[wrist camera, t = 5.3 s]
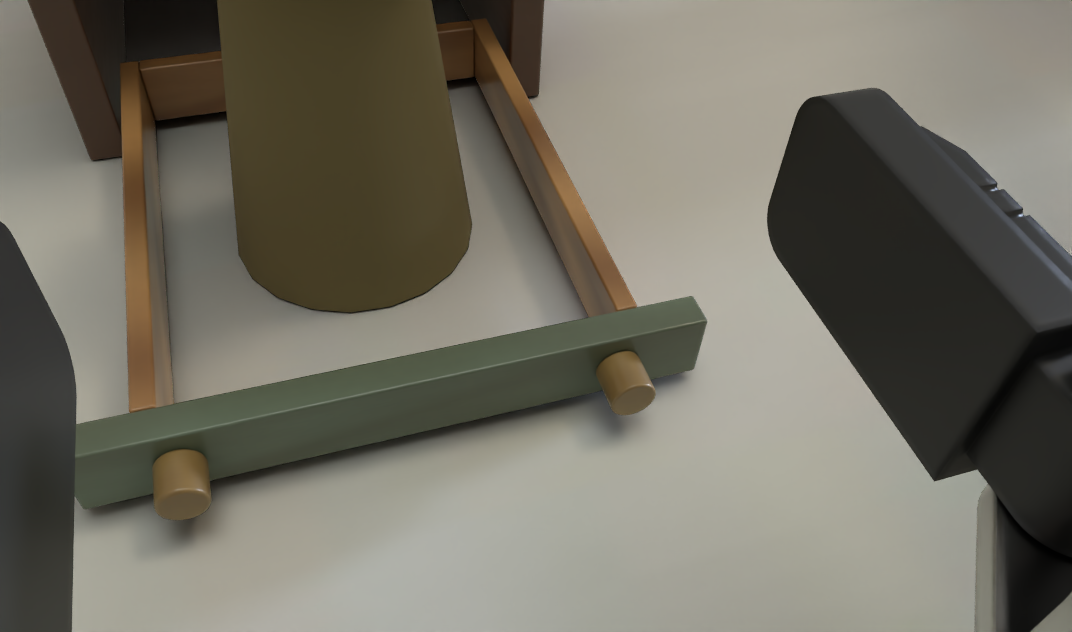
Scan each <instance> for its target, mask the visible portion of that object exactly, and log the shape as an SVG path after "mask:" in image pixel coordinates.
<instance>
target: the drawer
mask: <svg viewBox="0 0 1072 632" xmlns="http://www.w3.org/2000/svg"><path fill="white" fill-rule="evenodd" d="M436 28H437V33H438V39H439V44H440V50H441V55H442V61H443V66H444V72H445V78H446V81H448V80H456V79H463V78H470V77H474V75H475V77H476V79H477V81H478V84H479V86H480V88H481V90H482V92H483V94H484V96H485V98H486V101H487V103H488V105H489V107H490V109H491V111H492V113H493V115H494V117H495V120H496V122H497V124H498V126H499V128H500V130H501V132H502V134H503V136H504V139H505V141H506V143H507V145H508V147H509V149H510V151H511V153H512V155H513V158H514V160H515V162H516V164H517V166H518V168H519V170H520V172H521V175H522V177H523V179H524V181H525V183H526V185H527V187H528V189H529V191H530V194H531V196H532V198H533V200H534V202H535V204H536V206H537V208H538V210H539V213H540V215H541V217H542V219H543V221H544V223H545V225H546V227H547V229H548V232H549V234H550V236H551V238H552V240H553V242H554V244H555V246H556V249H557V251H558V253H559V255H560V257H561V259H562V261H563V263H564V265H565V268H566V270H567V272H568V274H569V276H570V278H571V280H572V282H573V284H574V287H575V289H576V291H577V293H578V295H579V297H580V299H581V301H582V303H583V306H584V308H585V310H586V312H587V314H588V316H589V318H584V319H579V320H574V321H569V322H565V323H560V324H555V325H550V326H545V327H541V328H536V329H531V330H526V331H521V332H517V333H512V334H507V335H502V336H498V337H493V338H488V339H483V340H478V341H474V342H469V343H464V344H459V345H454V346H450V347H445V348H440V349H435V350H430V351H426V352H421V353H416V354H411V355H406V356H402V357H397V358H392V359H387V360H382V361H378V362H373V363H368V364H363V365H358V366H354V367H349V368H344V369H339V370H334V371H330V372H325V373H320V374H315V375H310V376H306V377H301V378H296V379H291V380H286V381H282V382H277V383H272V384H267V385H262V386H258V387H253V388H248V389H243V390H238V391H234V392H229V393H224V394H219V395H214V396H210V397H205V398H200V399H195V400H190V401H186V402H181V403H176V404H174V399H173V384H172V369H171V354H170V339H169V324H168V309H167V294H166V279H165V264H164V249H163V234H162V220H161V205H160V190H159V175H158V160H157V145H156V130H155V120H165V119H172V118H179V117H186V116H194V115H201V114H208V113H216V112H223V111H226V100H225V88H224V76H223V65H222V53H221V51H214V52H206V53H198V54H189V55H181V56H173V57H165V58H157V59H148V60H141V61H139V62H138V61H132V62H124V63H120V95H121V133H122V170H123V207H124V244H125V281H126V318H127V355H128V392H129V412H130V413H128V414H123V415H118V416H114V417H109V418H104V419H99V420H94V421H90V422H85V423H80V424H76V443H75V492H74V495H75V496H76V498H77V500H78V501H79V503H80V504H81V506H82V508H83V509H89V508H93V507H97V506H102V505H106V504H110V503H115V502H119V501H123V500H128V499H132V498H137V497H141V496H145V495H150V494H153V498H154V509H155V511H156V512H157V514H158V515H159V516H161V517H163V518H165V519H169V520H186V519H190V518H194V517H196V516H199V515H201V514H202V513H204V512H205V511H206V510H207V509H208V508H209V506H210V504H211V501H212V498H211V487H210V481H211V480H215V479H219V478H224V477H228V476H232V475H237V474H241V473H245V472H250V471H254V470H259V469H263V468H267V467H272V466H276V465H280V464H285V463H289V462H293V461H298V460H302V459H306V458H311V457H315V456H320V455H324V454H328V453H333V452H337V451H341V450H346V449H350V448H354V447H359V446H363V445H367V444H372V443H376V442H381V441H385V440H389V439H394V438H398V437H402V436H407V435H411V434H415V433H420V432H424V431H428V430H433V429H437V428H441V427H446V426H450V425H455V424H459V423H463V422H468V421H472V420H476V419H481V418H485V417H489V416H494V415H498V414H502V413H507V412H511V411H516V410H520V409H524V408H529V407H533V406H537V405H542V404H546V403H550V402H555V401H559V400H563V399H568V398H572V397H577V396H581V395H585V394H590V393H594V392H598V391H603V392H604V394H605V396H606V398H607V400H608V403H609V405H610V407H611V409H612V411H613V412H615V413H616V414H618V415H630V414H634V413H637V412H639V411H641V410H643V409H645V408H646V407H647V406H648V405H650V404H651V402H652V401H653V400H654V398H655V394H656V392H655V388H654V386H653V384H652V382H651V379H655V378H659V377H664V376H668V375H672V374H677V373H681V372H685V371H690V370H693V369H694V367H695V363H696V360H697V356H698V353H699V349H700V346H701V342H702V338H703V335H704V331H705V328H706V324H707V319H706V318H705V316H704V314H703V313H702V311H701V309H700V307H699V306H698V304H697V302H696V301H695V299H694V297H693V296H689V297H685V298H680V299H675V300H670V301H665V302H661V303H656V304H651V305H646V306H641V307H637V305H636V303H635V301H634V299H633V297H632V295H631V293H630V291H629V290H628V288H627V286H626V284H625V282H624V280H623V278H622V276H621V274H620V272H619V270H618V269H617V267H616V265H615V263H614V261H613V259H612V257H611V255H610V253H609V251H608V250H607V248H606V246H605V244H604V242H603V240H602V238H601V236H600V234H599V232H598V231H597V229H596V227H595V225H594V223H593V221H592V219H591V217H590V215H589V213H588V211H587V210H586V208H585V206H584V204H583V202H582V200H581V198H580V196H579V194H578V192H577V191H576V189H575V187H574V185H573V183H572V181H571V179H570V177H569V175H568V173H567V171H566V170H565V168H564V166H563V164H562V162H561V160H560V158H559V156H558V154H557V152H556V151H555V149H554V147H553V145H552V143H551V141H550V139H549V137H548V135H547V133H546V131H545V130H544V128H543V126H542V124H541V122H540V120H539V118H538V116H537V114H536V112H535V111H534V109H533V107H532V105H531V103H530V101H529V99H528V97H527V95H526V93H525V91H524V90H523V88H522V86H521V84H520V82H519V80H518V78H517V76H516V74H515V72H514V71H513V69H512V67H511V65H510V63H509V61H508V59H507V57H506V55H505V53H504V51H503V50H502V48H501V46H500V44H499V42H498V40H497V38H496V36H495V34H494V32H493V31H492V29H491V27H490V25H489V23H488V21H487V19H485V18H484V19H476V20H471V21H469V20H468V21H460V22H452V23H443V24H436Z"/></svg>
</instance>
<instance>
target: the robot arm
mask: <svg viewBox="0 0 1072 632" xmlns="http://www.w3.org/2000/svg"><path fill="white" fill-rule="evenodd" d="M767 224H768V232H769V237H770V241H771V244H772V247H773V250H774V252H775V254H776V256H777V257H778V259H779V261H780V262H781V263H782V265H783V266H784V268H785V269H786V271H787V272H788V273H789V275H790V276H791V278H792V279H793V281H794V282H795V283H796V285H797V286H798V288H799V289H800V290H801V292H802V293H803V295H804V296H805V298H806V299H807V300H808V302H809V303H810V305H811V306H812V308H813V309H814V310H815V312H816V313H817V315H818V316H819V318H820V319H821V320H822V322H823V323H824V325H825V326H826V328H827V329H828V330H829V332H830V333H831V335H832V336H833V338H834V339H835V340H836V342H837V343H838V345H839V346H840V348H841V349H842V350H843V352H844V353H845V355H846V356H847V357H848V359H849V360H850V362H851V363H852V365H853V366H854V367H855V369H856V370H857V372H858V373H859V375H860V376H861V377H862V379H863V380H864V382H865V383H866V385H867V386H868V387H869V389H870V390H871V392H872V393H873V395H874V396H875V397H876V399H877V400H878V402H879V403H880V405H881V406H882V407H883V409H884V410H885V412H886V413H887V415H888V416H889V417H890V419H891V420H892V422H893V423H894V424H895V426H896V427H897V429H898V430H899V432H900V433H901V434H902V436H903V437H904V439H905V440H906V442H907V443H908V444H909V446H910V447H911V449H912V450H913V452H914V453H915V454H916V456H917V457H918V459H919V460H920V462H921V463H922V464H923V466H924V467H925V469H926V470H927V472H928V473H929V474H930V476H931V477H932V479H933V480H934V481H938V480H941V479H945V478H948V477H952V476H955V475H959V474H963V473H966V472H970V471H973V470H977V469H978V471H979V472H980V473H981V475H982V476H983V477H984V479H985V480H986V481H987V483H988V484H987V486H986V487H985V488H984V490H983V491H982V492H981V495H980V497H979V500H978V507H977V541H976V584H975V626H974V632H1072V257H1071V256H1070V255H1069V254H1068V253H1067V252H1066V251H1065V250H1064V249H1063V248H1062V247H1061V246H1060V245H1059V244H1058V243H1057V242H1056V241H1055V240H1054V239H1053V238H1052V237H1051V236H1050V235H1049V234H1048V233H1047V232H1046V231H1045V230H1044V229H1043V228H1042V227H1041V226H1040V225H1039V224H1038V223H1037V222H1036V221H1035V220H1034V219H1033V218H1032V217H1031V216H1030V215H1029V216H1024V215H1023V208H1022V207H1021V206H1020V205H1019V204H1018V203H1017V202H1016V201H1015V200H1014V199H1013V198H1012V197H1011V196H1010V195H1009V194H1008V193H1007V192H1006V191H1005V190H1004V189H1002V190H998V189H997V182H996V181H995V180H994V179H993V178H992V177H991V176H990V175H989V174H988V173H987V172H986V171H985V170H984V169H983V168H982V167H981V166H980V165H979V164H978V163H977V162H976V161H975V160H974V159H973V158H972V157H971V156H970V155H969V154H968V153H967V152H966V151H964V150H962V149H961V148H959V147H957V146H955V145H954V144H952V143H950V142H948V141H947V140H945V139H943V138H941V137H940V136H938V135H936V134H934V133H933V132H931V131H929V130H928V129H926V128H924V127H922V126H921V127H920V126H919V125H918V124H917V123H916V122H915V121H914V120H913V119H912V118H911V117H910V116H909V115H908V114H907V113H906V112H905V111H904V110H903V109H902V108H901V107H900V106H899V105H898V104H897V103H896V102H895V101H894V100H893V99H892V98H891V97H890V96H889V95H888V94H887V93H886V92H884V91H882V90H880V89H877V88H868V89H861V90H855V91H848V92H842V93H835V94H829V95H822V96H816V97H812V98H809V99H808V100H806V101H805V102H804V103H803V104H802V106H801V107H800V109H799V111H798V113H797V115H796V118H795V121H794V125H793V128H792V131H791V134H790V137H789V141H788V144H787V147H786V150H785V154H784V157H783V160H782V163H781V167H780V170H779V173H778V176H777V179H776V183H775V186H774V189H773V192H772V196H771V199H770V202H769V206H768V213H767ZM75 443H76V383H75V375H74V370H73V365H72V360H71V356H70V353H69V349H68V346H67V343H66V341H65V338H64V335H63V333H62V331H61V329H60V327H59V325H58V323H57V321H56V319H55V317H54V315H53V313H52V311H51V309H50V307H49V306H48V304H47V302H46V300H45V298H44V296H43V294H42V292H41V290H40V288H39V286H38V284H37V282H36V280H35V278H34V276H33V274H32V272H31V270H30V268H29V266H28V264H27V262H26V260H25V258H24V257H23V255H22V253H21V251H20V249H19V247H18V245H17V243H16V241H15V239H14V237H13V235H12V234H11V232H10V231H9V229H8V228H7V227H6V226H5V225H4V224H3V223H2V222H0V632H72V589H73V540H74V492H75Z"/></svg>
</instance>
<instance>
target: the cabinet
mask: <svg viewBox="0 0 1072 632" xmlns="http://www.w3.org/2000/svg"><path fill="white" fill-rule="evenodd" d="M460 2H461V4H462V6H463V8H464V10H465V12H466V14H467V16H468V18H469V20H470V21H471V20H476V19H484V18H485V19H487V21H488V23H489V25H490V27H491V29H492V31H493V32H494V34H495V36H496V38H497V40H498V42H499V44H500V46H501V48H502V50H503V51H504V53H505V55H506V57H507V59H508V61H509V63H510V65H511V67H512V69H513V71H514V72H515V74H516V76H517V78H518V80H519V82H520V84H521V86H522V88H523V90H524V91H525V93H526V95H527V97H529V96H536V95H538V94H539V82H540V64H541V47H542V29H543V12H544V0H460ZM28 3H29V5H30V8H31V10H32V13H33V15H34V18H35V20H36V23H37V25H38V28H39V30H40V33H41V35H42V38H43V40H44V43H45V46H46V48H47V51H48V53H49V56H50V58H51V61H52V63H53V66H54V68H55V71H56V73H57V76H58V78H59V81H60V83H61V86H62V88H63V91H64V93H65V96H66V98H67V101H68V103H69V106H70V108H71V111H72V113H73V116H74V118H75V121H76V123H77V126H78V129H79V131H80V134H81V136H82V139H83V141H84V144H85V146H86V149H87V151H88V154H89V156H90V159H91V160H98V159H105V158H112V157H119V156H122V133H121V95H120V63H124V62H126V56H125V27H124V0H28Z"/></svg>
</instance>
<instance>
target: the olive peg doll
mask: <svg viewBox="0 0 1072 632" xmlns="http://www.w3.org/2000/svg"><path fill="white" fill-rule="evenodd" d="M217 6H218V18H219V30H220V41H221V53H222V65H223V76H224V88H225V100H226V111H227V123H228V135H229V146H230V158H231V170H232V181H233V193H234V205H235V216H236V228H237V240H238V251H239V256H240V258H241V259H242V261H243V263H244V265H245V266H246V268H247V270H248V272H249V273H250V275H251V277H252V278H253V279H254V280H255V281H257V282H258V283H259V284H261V285H262V286H263V287H265V288H266V289H267V290H268V291H270V292H271V293H272V294H274V295H275V296H276V297H278V298H281V299H284V300H287V301H290V302H293V303H295V304H298V305H301V306H304V307H307V308H310V309H316V310H328V311H340V312H356V311H363V310H370V309H377V308H384V307H390V306H393V305H395V304H398V303H400V302H403V301H405V300H408V299H410V298H413V297H415V296H418V295H420V294H423V293H425V292H427V291H428V290H429V289H431V288H432V287H433V286H435V285H436V284H437V283H439V282H440V281H441V280H443V279H444V278H445V277H447V276H448V275H449V274H450V273H452V272H453V270H454V269H455V267H456V266H457V264H458V263H459V261H460V260H461V258H462V257H463V255H464V254H465V252H466V251H467V249H468V245H469V239H470V233H471V227H472V221H471V216H470V210H469V205H468V199H467V194H466V188H465V182H464V177H463V171H462V166H461V160H460V155H459V149H458V144H457V138H456V133H455V127H454V122H453V116H452V111H451V105H450V100H449V94H448V89H447V83H446V78H445V72H444V66H443V61H442V55H441V50H440V44H439V39H438V33H437V28H436V22H435V17H434V11H433V6H432V0H217Z"/></svg>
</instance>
